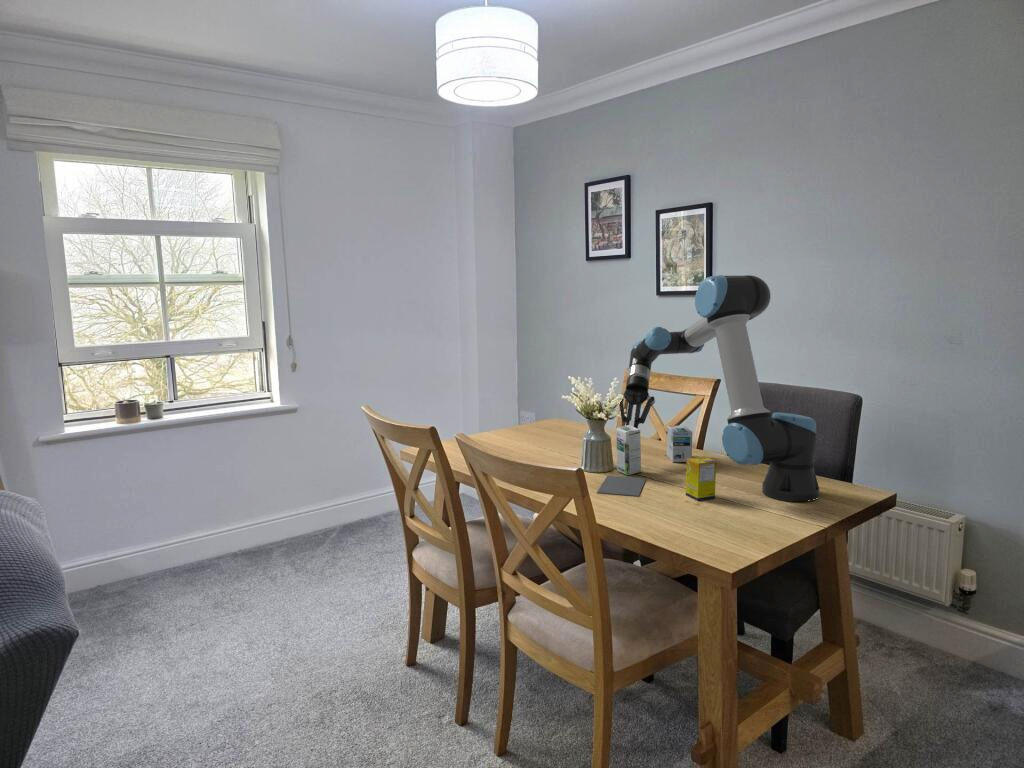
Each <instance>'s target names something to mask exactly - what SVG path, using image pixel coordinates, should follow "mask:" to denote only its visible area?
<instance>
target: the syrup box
mask: <svg viewBox="0 0 1024 768" xmlns="http://www.w3.org/2000/svg"><path fill="white" fill-rule="evenodd" d="M615 441H616V442H615V443H616V446H615V447H616V471H618V472H620V473H622V474H624V475H626V477H629V476H631V475H633V474H637V473H640V472H642V456H641V455H642V454H641V453H642V452H641V451H642V449H641V447H642V446H641V429H640V428H638V429H637V428H635V427H633V426H631V425H626V424H625V425H622V426H619V427H617V428H615Z"/></svg>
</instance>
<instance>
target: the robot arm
mask: <svg viewBox="0 0 1024 768" xmlns="http://www.w3.org/2000/svg"><path fill="white" fill-rule="evenodd" d="M771 295H772V294H771V290H770V288H769V285H768V284H767V283H766V282H765V281H764V279H762V278H760V277H758V276H755V275H752V274H751V275H750V274H747V275H723V274H718V275H711V276H708V277H706V278H704V279H703V280H702V281H701V282H700V284H699V285H698V288H697V290H696V293H695V296H694V306H695V310H696V313H697V314H699V316H700V317H702V318H701V319H699V320H698V321H696V322H695V323H693V324H692V325H690V326H688V327H687V328H686V329H683V330H682V331H669V330H668V329H666V328H663V327H662V326H656V327H653V328H652V329H651V330H650V331H649V332H648V333H647V334H646V335H645V337H644V338H643V339H642V340H640V341H639V340H638V341H637V342H635V343H633V344H632V347H631V350H630V355H629V364H628V372H627V379H626V385H625V390H624V391H623V394H622V395H623V399H622V401H621V402H620V404H619V403H618V404H619V409H620V416H621V422H622V423H623V424H624V423H625V426H626V425H631V426H633V427H635V428H637V429H639V425H640V424H645V422H646V420H647V417H648V416H649V412H650V410H651V408H652V406H653V405H654V404H655V402H656V400H655V396H653V395H652V396H650V394H649V387H650V377H651V372H652V371H651V370H652V364H653V362H655V360H656V359H658V357H659V356H661V355H675V354H676V355H678V354H694V353H699V352H701V351H702V350H703V348H704V346H705V344H706V343H708V342H709V341H711V340H713V339H715V338H716V343H717V347H718V353H719V356H720V357H719V358H720V362H721V367H722V374H723V377H724V383H725V386H726V393H727V396H728V401H729V406H730V414H729V416H728V417H727V418H726V420H727V425H726V426H725V427H724V428H723V430H722V434H721V442H722V447H723V450H724V451H725V453H726V455H727V457H729V458H730V459H731V460H732V461H733V462H734V463H736V464H738V465H741V466H747V465H748V466H750V465H751V466H754V465H759V464H766V463H767V464H768V463H769V467H768V470H767V472H766V475H765V477H764V480H763V482H762V486H761V492H762V493H763V494H764V495H765V496H767V497H769V498H772V499H776V500H779V501H786V502H792V501H808V500H813V499H816V498H818V497H819V498H820V487H819V486H820V485H819V483H818V479H817V476H816V472H815V457H816V456H815V455H816V444H817V443H816V441H817V433H818V432H817V422H816V421H815V419H814V418H812V417H809V416H805V415H801V414H795V413H789V412H777V411H776V412H773V413H771V411H770V409H767V408H765V406H764V402H763V398H762V394H761V388H760V383H759V379H758V375H757V370H756V366H755V360H754V356H753V352H752V347H751V342H750V338H749V337H750V336H749V332H748V327H747V323H748V322H749V321H751V320H753V319H755V318H756V317H758V316H760V315H761V314H762V313H763V312H765V311H767V309H768V306H769V304H770V302H771ZM625 400H626V402H627V403H628V404H627V405H628V406H627V411H626V412H627V414H626V415H625V408H624V401H625ZM645 402H646V404H645V406H644V408H643V411H642V413H641V408H642V405H643V404H644V403H645ZM634 406H635V413H634V419H633V420H632V417H633V409H634ZM819 498H818V499H819ZM808 502H809V501H808Z"/></svg>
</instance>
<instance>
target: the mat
mask: <svg viewBox="0 0 1024 768" xmlns="http://www.w3.org/2000/svg"><path fill="white" fill-rule="evenodd" d="M646 481H647V478H644V477H634V476H633V477H631V476H630V477H629V476H619V475H618V476H617V475H607V476H606V477H605V478H604V480H603V482H602V483H601V485H600V487H599V488H598V490H597V491H596V493H597V494H602V495H613V496H615V495H616V496H623V497H624V496H628V497H636V498H637V497H639V496H640V494H641V493H642V490H643V488H644V486H645V485H644V484H645V483H646Z"/></svg>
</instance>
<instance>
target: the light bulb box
mask: <svg viewBox="0 0 1024 768" xmlns="http://www.w3.org/2000/svg"><path fill="white" fill-rule="evenodd" d="M666 457H668V459H669V458H670V459H669V460H670V461H671V463H673V462H687V458H693V431H692V430H690V429H689V428H688V427H687V426H686V425H666Z"/></svg>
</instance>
